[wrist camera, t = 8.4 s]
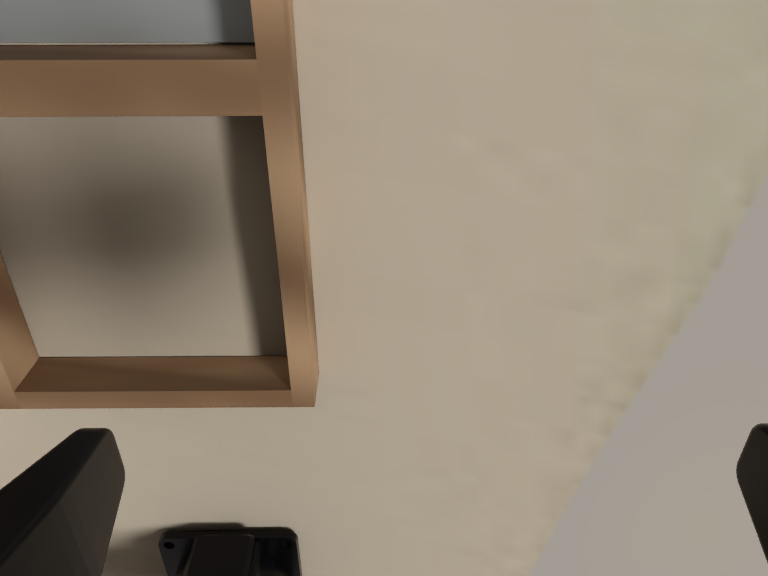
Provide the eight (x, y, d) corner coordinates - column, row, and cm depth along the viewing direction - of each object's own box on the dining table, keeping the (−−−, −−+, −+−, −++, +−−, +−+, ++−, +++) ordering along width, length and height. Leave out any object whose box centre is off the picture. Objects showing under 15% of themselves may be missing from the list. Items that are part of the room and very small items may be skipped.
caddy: (319, 372, 25) (314, 406, 23) (24, 373, 25) (-2, 408, 23) (254, -522, 13) (235, -588, 11) (-328, -525, 13) (-437, -591, 11)
